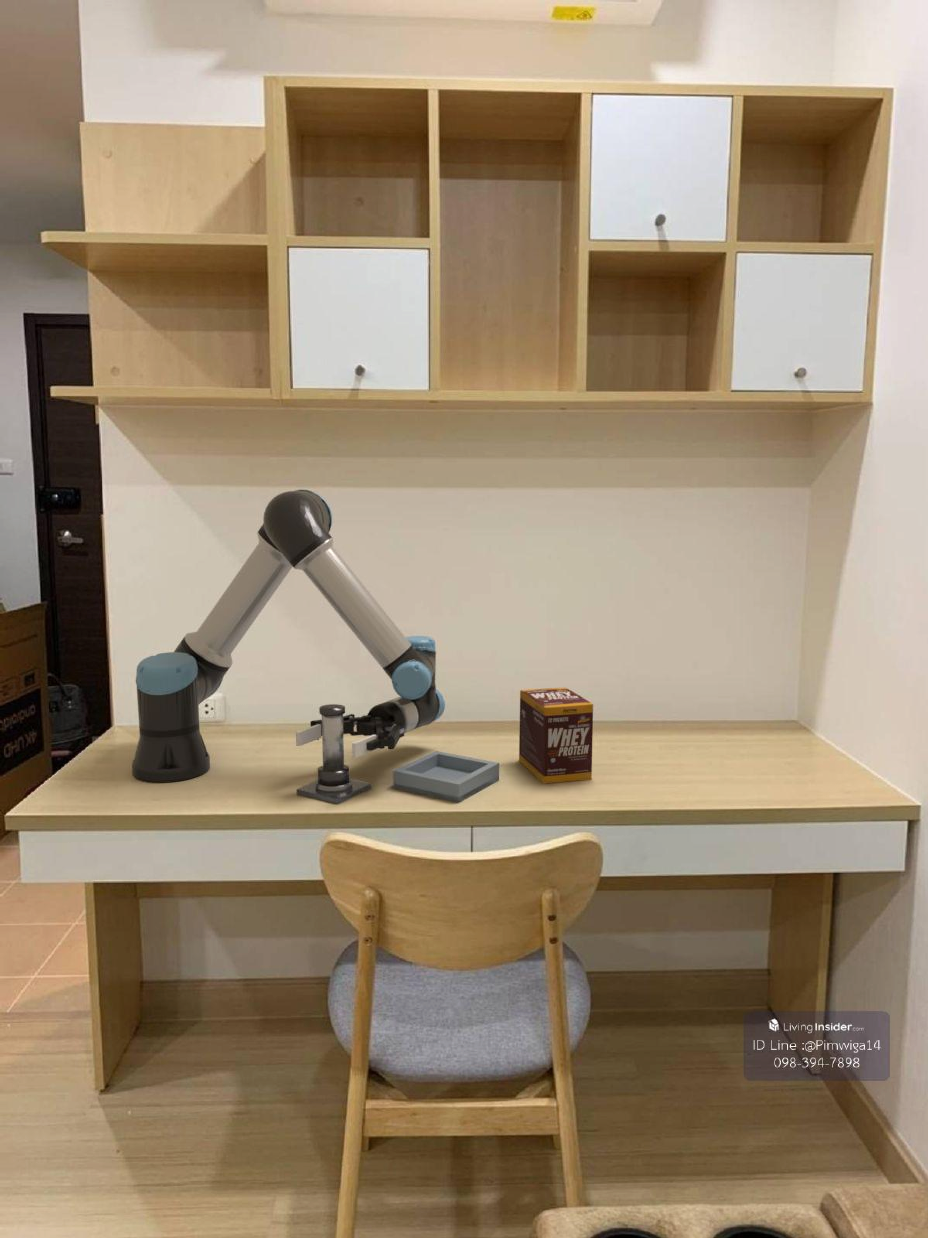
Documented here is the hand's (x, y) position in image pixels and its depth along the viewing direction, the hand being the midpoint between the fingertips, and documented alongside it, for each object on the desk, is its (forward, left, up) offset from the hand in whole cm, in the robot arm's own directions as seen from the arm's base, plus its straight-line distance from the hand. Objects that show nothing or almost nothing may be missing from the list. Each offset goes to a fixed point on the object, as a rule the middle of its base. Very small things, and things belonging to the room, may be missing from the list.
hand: (324, 744), depth 173 cm
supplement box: (+30, +36, -10) cm, 48 cm away
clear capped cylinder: (0, +2, -8) cm, 8 cm away
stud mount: (0, +2, -10) cm, 10 cm away
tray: (+16, +17, -10) cm, 26 cm away
